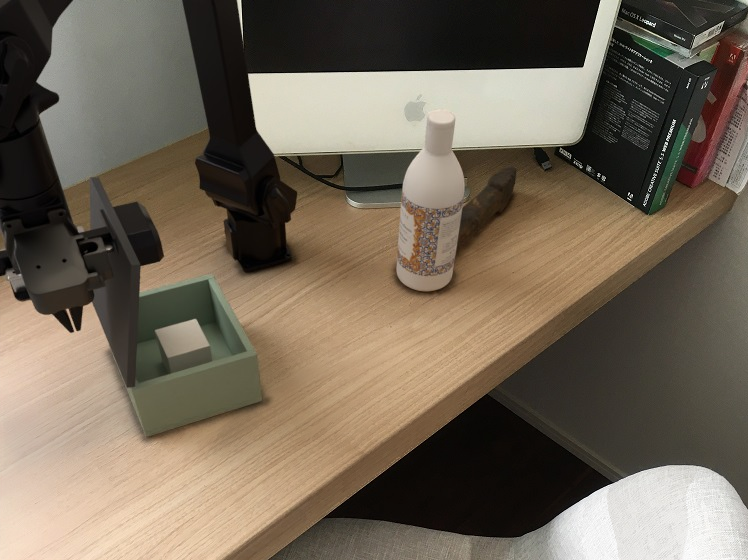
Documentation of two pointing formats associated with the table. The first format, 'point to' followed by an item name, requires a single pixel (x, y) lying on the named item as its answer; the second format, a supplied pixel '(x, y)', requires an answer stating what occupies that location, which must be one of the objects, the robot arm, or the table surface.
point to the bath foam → (431, 209)
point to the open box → (200, 383)
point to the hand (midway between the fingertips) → (74, 329)
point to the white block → (183, 346)
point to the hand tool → (486, 203)
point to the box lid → (117, 288)
